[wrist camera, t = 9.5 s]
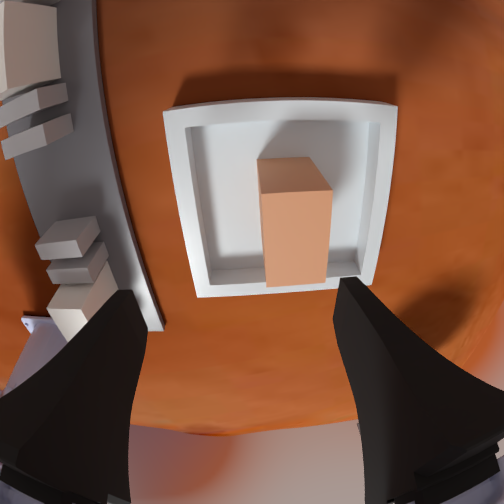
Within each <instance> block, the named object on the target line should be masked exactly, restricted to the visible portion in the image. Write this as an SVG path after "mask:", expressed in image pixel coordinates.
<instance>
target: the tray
mask: <svg viewBox="0 0 504 504" xmlns="http://www.w3.org/2000/svg"><path fill="white" fill-rule="evenodd" d="M397 111H398V106H395V105H392V104H388V103H385V102H381V101H370V100H359V99H344V98H320V97H276V98H252V99H237V100H225V101H215V102H205V103H197V104H189V105H182V106H175V107H171V108H169V109H167V110H165V111H163V118H164V125H165V132H166V139H167V145H168V152H169V158H170V164H171V170H172V176H173V182H174V188H175V193H176V199H177V204H178V209H179V215H180V220H181V225H182V230H183V235H184V240H185V244H186V249H187V254H188V258H189V263H190V268H191V272H192V276H193V281H194V285H195V289H196V294H197V298H198V297H220V296H239V295H256V294H271V293H285V292H298V291H311V290H323V289H334V288H338V287H339V281H340V278H343V277H354V276H357V277H358V278H359V279H360V280H361V281H362V282H363V283H364V284H365V285H372V281H373V277H374V273H375V268H376V264H377V259H378V254H379V250H380V245H381V239H382V234H383V229H384V223H385V218H386V212H387V205H388V199H389V192H390V185H391V177H392V169H393V160H394V151H395V140H396V127H397ZM291 157H310V159H311V160H312V161H313V163H314V164H315V165H316V167H317V168H318V170H319V171H320V172H321V174H322V175H323V177H324V178H325V180H326V181H327V182H328V184H329V185H330V187H331V188H332V190H333V199H332V215H331V228H330V241H329V252H328V262H327V272H326V281H325V283H317V284H305V285H293V286H280V287H267V288H266V278H265V268H264V258H263V248H262V238H261V223H260V207H259V191H258V175H257V160H256V159H271V158H291Z"/></svg>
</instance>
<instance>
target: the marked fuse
mask: <svg viewBox="0 0 504 504" xmlns="http://www.w3.org/2000/svg"><path fill="white" fill-rule="evenodd" d="M256 160H257V175H258V191H259V207H260V223H261V238H262V248H263V258H264V268H265V278H266V288H267V287H280V286H293V285H305V284H317V283H325V281H326V272H327V262H328V252H329V241H330V228H331V215H332V199H333V190H332V188H331V187H330V185H329V184H328V182H327V181H326V180H325V178H324V177H323V175H322V174H321V172H320V171H319V170H318V168H317V167H316V165H315V164H314V163H313V161H312V160H311V159H310V157H291V158H271V159H256Z"/></svg>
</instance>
